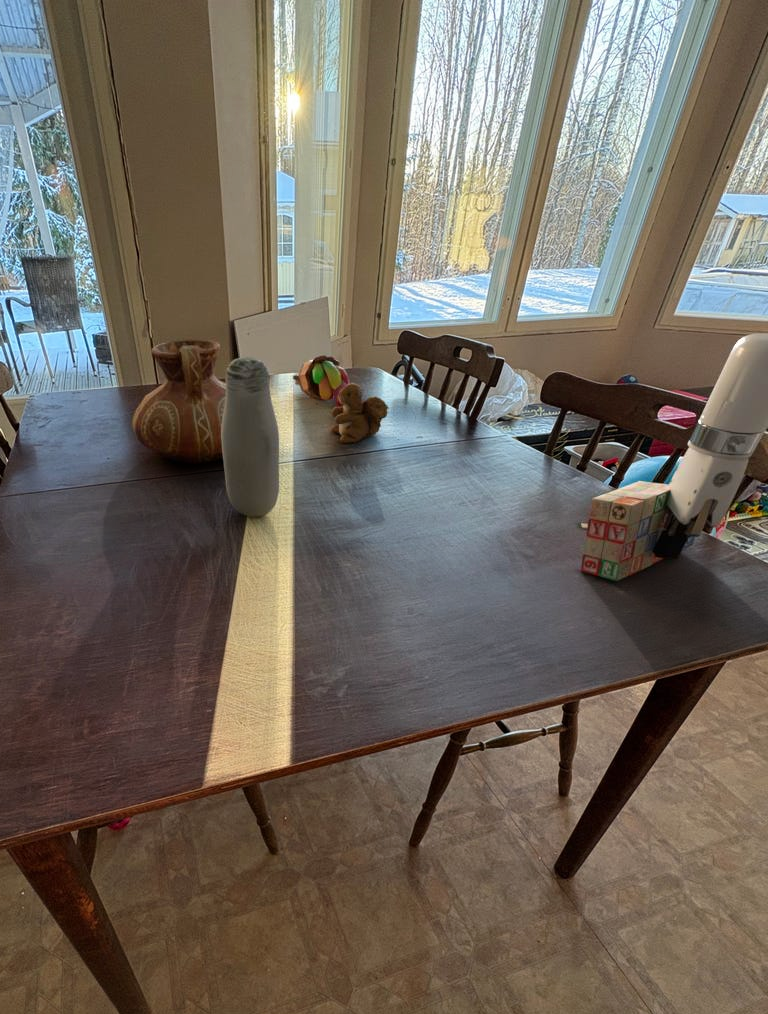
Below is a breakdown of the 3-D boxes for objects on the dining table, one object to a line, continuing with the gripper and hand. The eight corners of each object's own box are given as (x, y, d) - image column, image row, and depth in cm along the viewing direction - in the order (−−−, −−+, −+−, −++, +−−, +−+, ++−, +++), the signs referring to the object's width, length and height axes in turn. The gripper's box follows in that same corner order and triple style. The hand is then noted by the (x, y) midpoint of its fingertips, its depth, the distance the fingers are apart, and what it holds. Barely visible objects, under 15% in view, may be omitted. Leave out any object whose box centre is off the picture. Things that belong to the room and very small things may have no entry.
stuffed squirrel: (328, 431, 144) (329, 379, 136) (379, 429, 145) (383, 376, 137) (334, 444, 136) (336, 389, 128) (387, 441, 137) (393, 386, 129)
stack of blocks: (655, 538, 96) (671, 468, 90) (693, 546, 91) (713, 473, 85) (579, 571, 87) (591, 496, 81) (616, 581, 82) (632, 503, 76)
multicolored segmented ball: (326, 369, 178) (364, 355, 157) (321, 416, 183) (357, 410, 161) (285, 360, 173) (318, 346, 151) (281, 410, 177) (312, 403, 155)
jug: (118, 447, 136) (94, 337, 121) (214, 422, 151) (204, 322, 135) (178, 481, 119) (159, 358, 103) (281, 450, 133) (278, 337, 118)
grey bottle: (219, 516, 105) (202, 360, 87) (251, 498, 111) (242, 349, 94) (258, 529, 100) (249, 367, 83) (289, 509, 107) (287, 355, 89)
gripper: (780, 460, 66) (707, 584, 78) (733, 423, 77) (675, 536, 89) (713, 455, 67) (651, 577, 79) (676, 420, 79) (627, 531, 90)
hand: (664, 555), depth 84 cm, fingers closed
